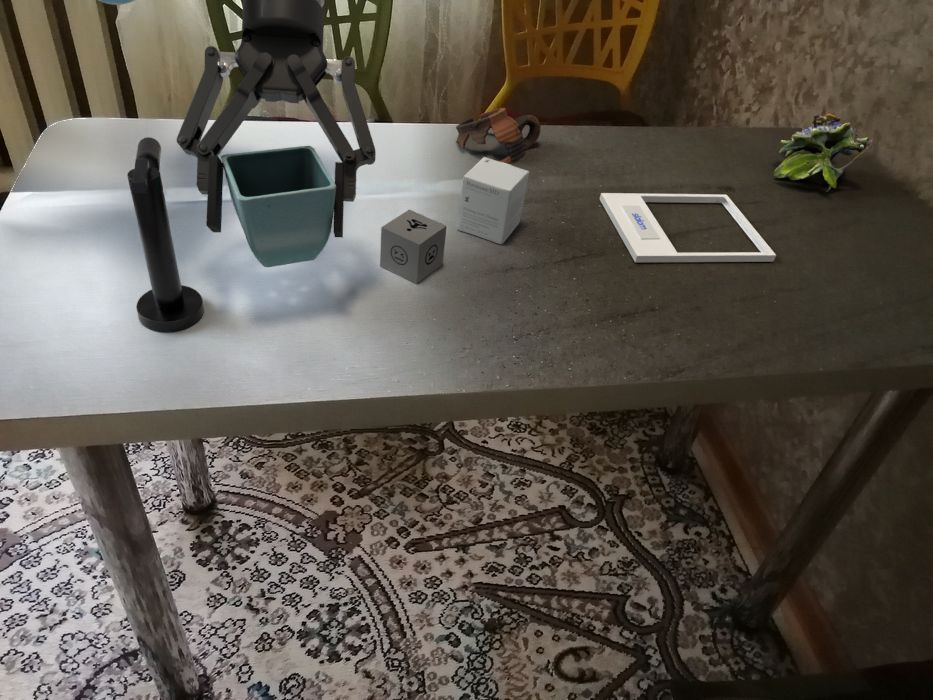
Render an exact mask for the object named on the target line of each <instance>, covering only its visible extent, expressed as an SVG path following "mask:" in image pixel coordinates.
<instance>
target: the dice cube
mask: <svg viewBox="0 0 933 700" xmlns="http://www.w3.org/2000/svg"><path fill="white" fill-rule="evenodd" d="M446 234H447V225H446V224H444V223H442V222H439V221H437V220H435V219H432V218H430V217H428V216H425V215H423V214H421V213H418V212H416V211H414V210H412V209H407V210H406V211H405V212H402V214H400V215H398V216H397V217H395V218H394V219H392V220H390V221H389V222H387V223H386V224H383V225H382V226H381V227H380V254H379V256H380V257H379V267H380V268H383V269H385V270H387V271H389V272H392V273H394V274H395V275H397V276H400V277H402V278H404V279H406V280H408V281H410V282H412V283H414V284H416V285H417V284H418V283H420V282H421V281H422V280H424V279H425V278H426V277H428V276H430V275H431V274H432V273H433V272H434V271H435V270H437V269H438V268H440V267H441V266H442V265H443V264H444V258H445V257H444V255H445V247H446Z"/></svg>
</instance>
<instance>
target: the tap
mask: <svg viewBox="0 0 933 700" xmlns="http://www.w3.org/2000/svg"><path fill="white" fill-rule="evenodd" d="M161 159H162V146H161V143H160V142H159V140H157V139H156V138H153V137H150V136H149V137H144V138H142V139H140V140H139V142H138V144H137V149H136V155H135V161H134V167H133V168H132V169H130V170H129V171H128V172H127V174H126V175H127V180H128V185H129V190H130V195H131V199H132V200H131V201H132V204H133V209H134V213H135V217H136V222H137V227H138V231H139V236H140V241H141V245H142V251H143V254H144V259H145V264H146V268H147V269H146V270H147V274H148V278H149V283H150V286H151V289H150V290H148V291H146V292H145V293H143V294H142V295H141V296H140V297H139V298H138V300H137V302H136V307H135V308H136V313H137V316H138V320H139V322H140V323H141V325H142V326H144V327H145V328H147V329H149V330H152V331H155V332H159V333H160V332H161V333H172V332H173V333H174V332H178V331H183V330H185V329H188V328H190V327H192V326H194V325H195V324H197V323H198V322H199V321H200V320H201V318H202V317H203V315H204V312H205V309H204V300H203V297H202V295H201V294H200V292H199V291H197V290H196V289H194V287H193V288H192V287H190V286H188V285H183V284H182V283H181V278H180V273H179V268H178V267H179V266H178V262H177V256H176V251H175V246H174V240H173V234H172V229H171V224H170V219H169V212H168V208H167V207H168V206H167V203H166V197H165V196H166V195H165V192H164V185H163V179H162V176H161V175H162V174H161V171H160V169H161Z"/></svg>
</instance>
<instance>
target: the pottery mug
mask: <svg viewBox="0 0 933 700" xmlns="http://www.w3.org/2000/svg"><path fill="white" fill-rule="evenodd" d="M526 126H528V127H529V130H528V133H527V135H526V136H525V137H524V136H523V135H524V134H523V129H525V127H526ZM541 127H542V126H541V123H540V120H539V119H538V118H537V117H536V116H535V115H532V114H525V115H521V116H518V117H512V116H509V115H508V112H507V108H505V107H499V108H496V109H492V110H489V111H486V112H483V113H481V114H479V119H476V120H474V118H473V117H470V118H467V119H466V120H464V121H461V122H460V123H458V124H457V125H456V126H455V129H456V131H457V133H458V134H457V137H456V141H455V142H456V143H457V144H458V145H460V147H461V149H462V150H464V149H465V148H466V144H467V141H468V139H469V138H470V139H471V140H473V141H474V142H476V144H478V145H486V144H487V141H486V140H487V139H486V138H487V137H488V136H487V135H488V133H489V131H490V130H492V132H493V134H494V138H495V140H497V142H499V144H504V147H505V149H506V151H507V156H506V157H505V158H503V159H501V160H498V161H499V162H503V163H507V164H510V165H512V164H514V163H515V164H516V163H517V162H520V160H521V159H523V157H524V156H525V155H526V151H527V150H528V149H530V148H531V147H533V146H534V144H535V143H536V142H537V141H538V139H539V137H540V135H541Z"/></svg>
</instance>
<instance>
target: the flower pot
mask: <svg viewBox="0 0 933 700" xmlns="http://www.w3.org/2000/svg"><path fill="white" fill-rule="evenodd" d="M220 160H221V162H222V163H223V172H224V174H225V179H226V182H227V187H228V191H229V195H230V199H231V202H232V206H233V208H234V211H235V214H236V216H237V218H238V221H239V223H240V226H241V228H242V231H243V233H244V237H245V239H246V242H247V245H248V247H249V249H250V251H251V252H252V255H253V256H254V257H255V259H256V260H257V261H258V263H260V264H261V265H262V266H263V267H265V268H274V267H279V266H286V265H291V264H298V263H304V262H311V261H314V260H316V259H317V257H319V255H320V254H321V252H322V251H323V250H324V248H325V246H326V245H327V243H328V241H329V238H330V235H331V233H332V227H333V222H334V203H335V193H336V184H335V180H334V179H333V177H332V176H331V175H330V173H329V171H328V170H327V168H326V167H325V165H324V163H323V161H322V160H321V158H320V156H319V155H318V152H317V151H316V149H315V148H314V147H313V146H311V145H303V146H302V145H300V146H291V147H281V148H272V149H265V150H254V151H244V152H234V153H226V154H223V155H221V156H220Z"/></svg>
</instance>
